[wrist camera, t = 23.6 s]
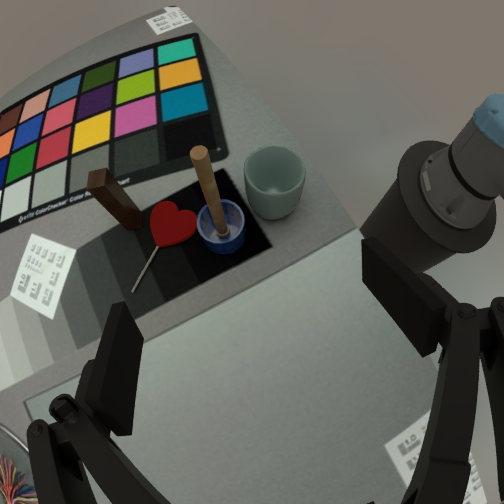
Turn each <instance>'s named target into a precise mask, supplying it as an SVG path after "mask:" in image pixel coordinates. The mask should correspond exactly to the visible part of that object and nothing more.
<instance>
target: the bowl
mask: <svg viewBox="0 0 504 504" xmlns="http://www.w3.org/2000/svg"><path fill="white" fill-rule="evenodd" d="M220 200H221V204H222V208H223V212H224V216H225V219H226V223H227V225H228V226H229V229H230V234H229V236H228V237H227V238H224V239H222V238H219V237H218V236H217V234H216V231H215V229H216V227H215V224H214V221H213V219H212V216H211V213H210V210H209V207H208V205H205V206H204V207H203V208H202V209H201V211H200V212H199V214H198V218H197V229H198V231H199V233H200V235H201V237H202V239H203V241H204V243H205V245H206V246H207V247H208V248H209V249H210V250H211V251H212V252H214V253H217V254H222V255H225V254H230V253H233V252H235V251H237V250H238V249H239V248H240V247H241V246H242V245H243V243H244V241H245V238H246V228H245V219H244V214H243V212H242V210H241V208H240V207H239V206H238V205H237V204H236V203H234V202H232V201H229V200H223V199H220Z"/></svg>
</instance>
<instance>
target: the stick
mask: <svg viewBox="0 0 504 504" xmlns="http://www.w3.org/2000/svg"><path fill="white" fill-rule="evenodd" d="M190 156H191V159H192V162H193V165H194V168H195V171H196V173H197V176H198V179H199V182H200V185H201V188H202V191H203V193H204V196H205V199H206V202H207V205H208V207H209V210H210V213H211V216H212V219H213V221H214V224H215V227H216V229H215V231H216V234H217V236H218V237H219V238H222V239H224V238H227V237H228V236H229V234H230V229H229V226H228V225H227V223H226V219H225V216H224V212H223V208H222V204H221V200H220V197H219V193H218V189H217V185H216V181H215V177H214V174H213V170H212V166H211V162H210V158H209V154H208V150H207V148H206V147H204V146H196V147H194V148H193V149H192V150H191V152H190Z"/></svg>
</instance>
